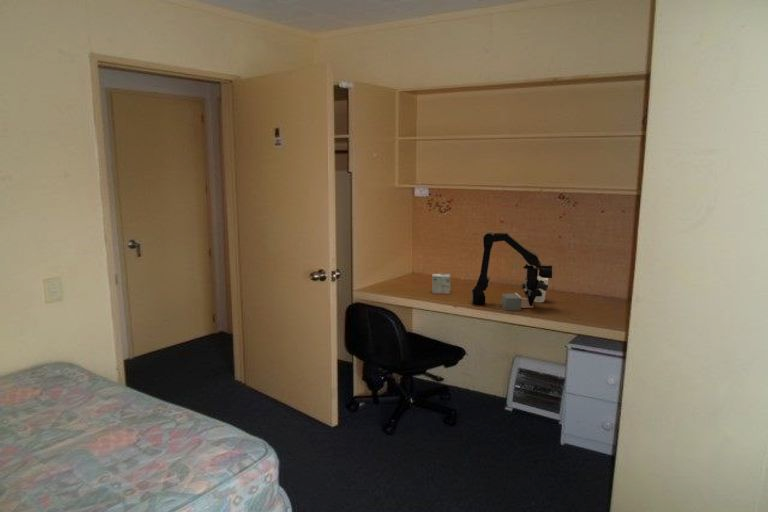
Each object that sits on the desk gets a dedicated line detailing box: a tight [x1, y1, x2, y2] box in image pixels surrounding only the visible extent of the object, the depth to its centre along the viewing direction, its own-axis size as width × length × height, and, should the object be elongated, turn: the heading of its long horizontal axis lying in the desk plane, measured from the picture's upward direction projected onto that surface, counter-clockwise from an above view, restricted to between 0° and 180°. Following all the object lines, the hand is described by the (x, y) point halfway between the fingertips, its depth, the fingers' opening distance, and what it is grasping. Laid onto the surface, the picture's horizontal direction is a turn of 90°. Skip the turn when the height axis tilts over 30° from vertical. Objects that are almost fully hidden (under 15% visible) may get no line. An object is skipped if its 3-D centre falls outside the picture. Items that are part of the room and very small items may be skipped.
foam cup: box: [533, 276, 549, 303], centre depth 307 cm, size 10×9×13 cm
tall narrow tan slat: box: [521, 297, 534, 309], centre depth 293 cm, size 10×2×5 cm, turn 91°
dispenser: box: [500, 292, 523, 312], centre depth 293 cm, size 8×10×7 cm
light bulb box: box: [431, 273, 451, 295], centre depth 326 cm, size 11×7×11 cm, turn 84°
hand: (530, 305), depth 294 cm, fingers closed on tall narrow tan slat, 2 cm apart
